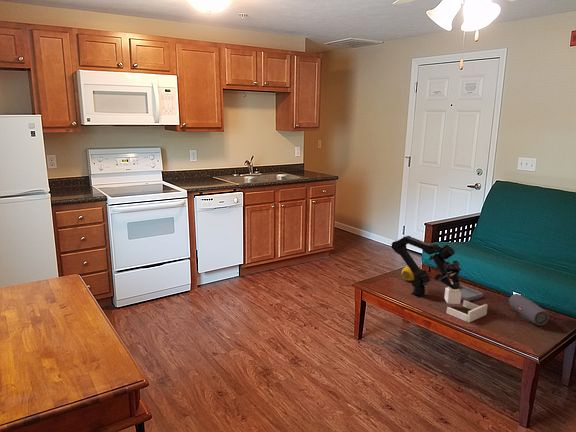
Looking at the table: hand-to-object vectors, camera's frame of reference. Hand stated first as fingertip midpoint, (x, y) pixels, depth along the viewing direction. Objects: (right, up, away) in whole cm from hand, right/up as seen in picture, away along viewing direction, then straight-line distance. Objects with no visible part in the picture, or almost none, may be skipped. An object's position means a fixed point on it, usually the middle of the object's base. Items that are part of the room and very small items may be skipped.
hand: (456, 287), depth 245 cm
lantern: (-12, -3, +48) cm, 49 cm away
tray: (+13, -9, +22) cm, 27 cm away
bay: (+4, -14, -3) cm, 15 cm away
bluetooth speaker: (+36, -16, -7) cm, 40 cm away
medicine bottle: (-1, -9, +3) cm, 10 cm away
